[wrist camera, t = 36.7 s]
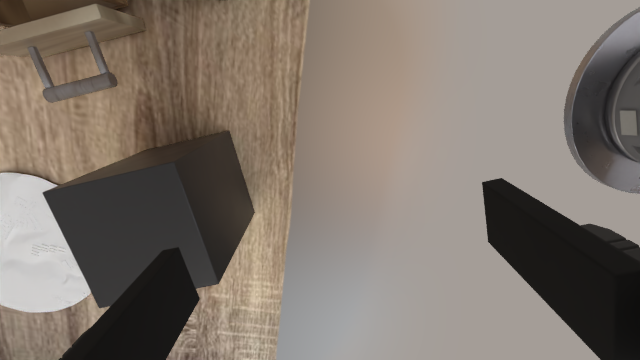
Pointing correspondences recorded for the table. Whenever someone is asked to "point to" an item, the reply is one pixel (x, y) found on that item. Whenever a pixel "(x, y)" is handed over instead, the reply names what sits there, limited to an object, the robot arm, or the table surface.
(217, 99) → the table surface
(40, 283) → the plaque
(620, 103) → the robot arm
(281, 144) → the table surface
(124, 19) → the drawer
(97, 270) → the riser
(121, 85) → the table surface
